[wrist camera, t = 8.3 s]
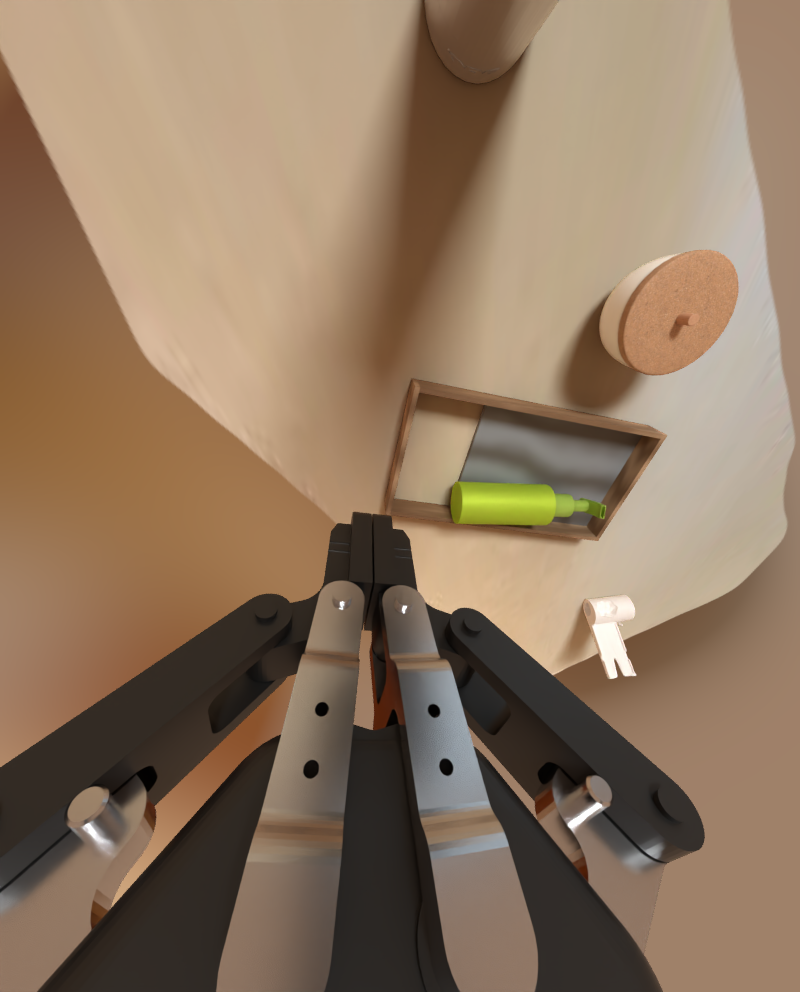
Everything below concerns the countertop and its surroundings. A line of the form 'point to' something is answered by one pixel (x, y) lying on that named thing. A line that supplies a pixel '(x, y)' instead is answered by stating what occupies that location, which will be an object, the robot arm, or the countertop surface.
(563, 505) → the soap dispenser
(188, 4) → the countertop surface
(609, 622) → the plastic part
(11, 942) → the robot arm
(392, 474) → the wooden tray
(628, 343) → the lidded jar
